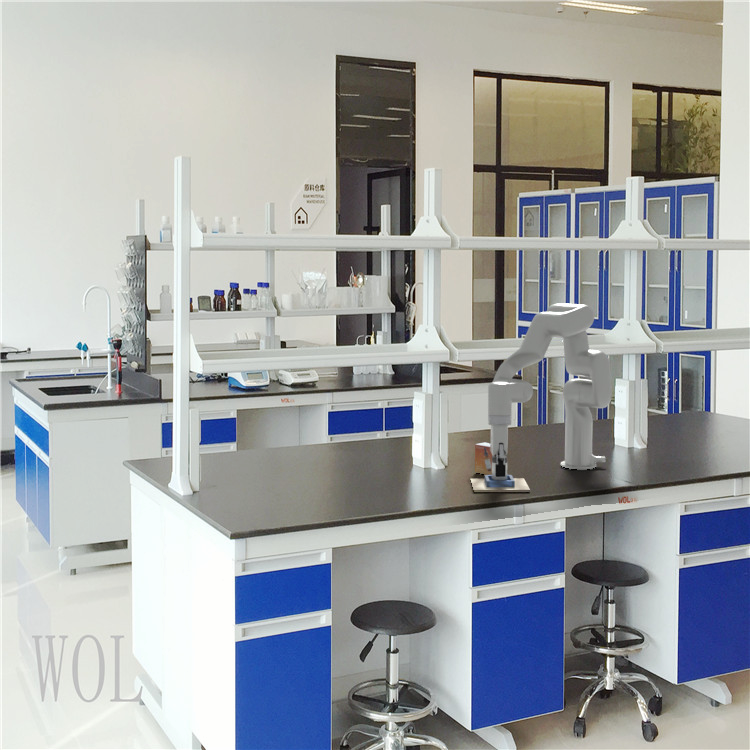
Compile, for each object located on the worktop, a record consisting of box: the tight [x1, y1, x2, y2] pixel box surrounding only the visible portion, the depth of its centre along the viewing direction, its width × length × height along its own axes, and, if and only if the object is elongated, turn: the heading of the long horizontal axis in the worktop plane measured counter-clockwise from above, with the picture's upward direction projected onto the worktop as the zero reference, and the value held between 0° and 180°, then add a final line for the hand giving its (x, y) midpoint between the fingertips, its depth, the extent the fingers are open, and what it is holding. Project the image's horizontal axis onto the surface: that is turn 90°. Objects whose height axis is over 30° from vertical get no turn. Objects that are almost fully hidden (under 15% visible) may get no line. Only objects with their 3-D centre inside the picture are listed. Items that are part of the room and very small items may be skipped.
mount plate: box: [469, 474, 531, 491], centre depth 324 cm, size 18×16×3 cm
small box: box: [474, 441, 493, 475], centre depth 342 cm, size 8×6×10 cm
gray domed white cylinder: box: [492, 455, 508, 480], centre depth 323 cm, size 5×5×7 cm
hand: (499, 473), depth 323 cm, fingers closed on gray domed white cylinder, 4 cm apart
